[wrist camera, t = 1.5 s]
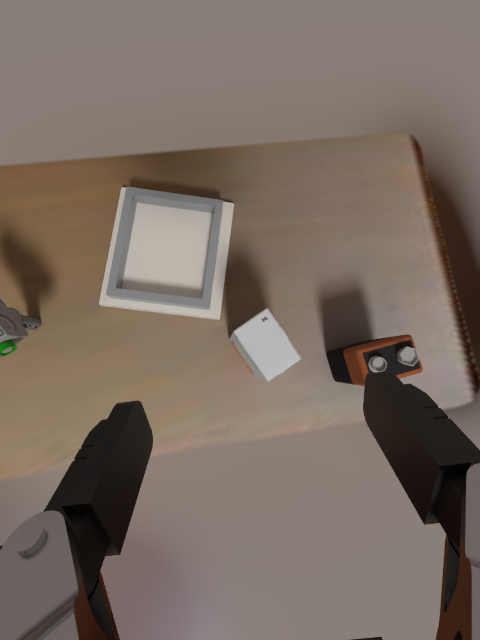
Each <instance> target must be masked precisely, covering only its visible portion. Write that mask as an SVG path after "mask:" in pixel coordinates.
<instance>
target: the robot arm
mask: <svg viewBox="0 0 480 640" xmlns="http://www.w3.org/2000/svg"><path fill="white" fill-rule="evenodd" d="M363 411H364V416H365V420H366V422H367V424H368V427H369V428H370V430H371V432H372V433H373V435H374V437H375V439H376V441H377V442H378V444H379V446H380V448H381V449H382V451H383V453H384V454H385V456H386V458H387V460H388V462H389V463H390V465H391V467H392V469H393V470H394V472H395V474H396V476H397V477H398V479H399V481H400V482H401V484H402V486H403V488H404V490H405V492H406V493H407V495H408V497H409V498H410V500H411V502H412V504H413V506H414V507H415V509H416V511H417V513H418V514H419V516H420V518H421V520H422V521H423V523H424V525H425V524H434V523H440V524H441V526H442V527H443V529H444V531H445V533H446V538H445V547H444V561H443V576H442V591H441V605H440V617H439V625H438V630H437V635H436V640H480V450H479V449H478V448H477V447H476V446H475V445H474V444H473V443H472V441H471V440H470V439H469V438H467V436H466V435H465V434H464V433H463V432H462V431H461V430H460V429H459V428H458V427H457V425H456V424H455V423H454V422H453V421H452V420H451V419H448V416H447V415H446V414H445V413H444V412H443V411H442V410H441V408H438V405H437V404H436V403H435V402H434V401H433V400H432V399H431V398H430V397H429V396H428V395H427V394H426V393H425V392H423V391H422V390H420V389H418V388H417V387H415V386H413V385H411V384H403V383H402V382H401V381H400V380H399V378H398V377H397V376H396V375H395V374H394V373H393V372H392V371H383V372H375V373H368V374H367V375H366V378H365V390H364V403H363ZM152 446H153V435H152V430H151V428H150V425H149V422H148V419H147V417H146V414H145V411H144V408H143V406H142V403H141V402H140V401H131V402H123V403H117V404H116V405H115V406H114V408H113V410H112V411H111V413H110V415H109V417H108V419H106V420H101V421H100V422H99V423H98V424H97V425H96V426H95V427H94V428H93V429H92V430H91V431H90V432H89V434H88V436H87V437H86V439H85V441H84V443H83V444H82V446H81V449H80V450H79V451H78V453H77V455H76V456H75V460H74V461H73V462H72V463H71V465H70V467H69V469H68V470H67V472H66V474H65V476H64V477H63V479H62V481H61V483H60V484H59V486H58V488H57V489H56V491H55V493H54V495H53V496H52V498H51V500H50V501H49V503H48V505H47V507H46V508H45V510H44V511H43V512H42V513H39V514H37V515H35V516H33V517H31V518H30V519H28V520H27V521H25V522H24V523H23V524H22V525H20V526H19V527H18V528H17V529H16V530H15V531H14V532H13V533H12V534H11V535H10V536H9V538H8V539H7V540H6V542H5V543H4V545H2V546H0V640H120V638H119V634H118V630H117V627H116V623H115V620H114V616H113V612H112V609H111V605H110V602H109V598H108V595H107V591H106V587H105V584H104V581H103V576H102V574H101V572H100V569H101V567H102V564H103V560H104V558H105V556H112V555H120V553H121V550H122V546H123V543H124V540H125V537H126V533H127V530H128V527H129V523H130V520H131V517H132V513H133V510H134V507H135V504H136V500H137V497H138V493H139V490H140V487H141V484H142V480H143V477H144V474H145V470H146V467H147V464H148V461H149V457H150V454H151V451H152ZM353 640H382V637H374V638H364V639H353Z"/></svg>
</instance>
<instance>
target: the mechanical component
mask: <svg viewBox="0 0 480 640" xmlns="http://www.w3.org/2000/svg"><path fill="white" fill-rule="evenodd" d="M40 325H41V321H40V320H39V319H37V318H33V317H28V316H24V315H20V313H19V311H18V310H16V309H14V308H8V307H7V306H6V305H5V303H4V302H3V301H2V300H1V299H0V356H6V355H8V354H10V353H12V352H14V351H15V350H16V349H17V346H16V344H17V343H19V342H20V341H21V340H23V339H24V338H25V337H27V336H28V332H27V331H26V329H30V330H35V329H36V328H35V327H36V326H38V327H39V326H40Z"/></svg>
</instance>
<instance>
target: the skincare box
mask: <svg viewBox="0 0 480 640" xmlns="http://www.w3.org/2000/svg"><path fill="white" fill-rule="evenodd" d="M229 340H230V342H231V343H232V345H233V346H234V347H235V349H236V350H237V352H238V353H239V355H240V356H241V358H242V359H243V361H244V362H245V364H246V365H247V367H248V368H249V370H250V372H251V373H252V375H254V376H256V377H259V378H261V379H263V380H265V381H267V382H268V381H270V380H271V379H273V378H274V377H276V376H277V375H279V374H280V373H282V372H283V371H285V370H286V369H288V368H289V367H291V366H292V365H293V364H295V363H296V362H298V361H299V360H301V356H300V355H299V353H298V352H297V351H296V349H295V348H294V346H293V345H292V343H291V342H290V340H289V339H288V337H287V335H286V333H285V332H284V330H283V329H282V328H281V327H280V325H279V324H278V322H277V321H276V320H275V318H274V317H273V315H272V314H271V312H270V311H269V310H268V308H265V309H264V310H263V311H261V312H260V313H258V314H257V315H255V316H254V317H253V318H251V319H250V320H248V321H247V322H245V323H244V324H242V325H241V326H240V327H238V328H237V329H235V330H234V331H233V333H232V335H231V337H230V339H229Z"/></svg>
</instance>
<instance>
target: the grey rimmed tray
mask: <svg viewBox="0 0 480 640" xmlns="http://www.w3.org/2000/svg"><path fill="white" fill-rule="evenodd" d="M233 209H234V203H229V202H223V200H218V199H211V198H204V197H197V196H190V195H183V194H176V193H169V192H162V191H155V190H148V189H141V188H134V187H127V186H126V188H124V187H122V188H121V193H120V198H119V203H118V208H117V213H116V218H115V224H114V229H113V234H112V239H111V244H110V249H109V255H108V260H107V265H106V270H105V275H104V280H103V286H102V291H101V296H100V301H99V305H101V306H107V307H115V308H123V309H132V310H140V311H148V312H157V313H165V314H174V315H182V316H190V317H199V318H207V319H215V320H220V315H221V307H222V299H223V290H224V282H225V274H226V266H227V258H228V250H229V242H230V234H231V225H232V217H233Z"/></svg>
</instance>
